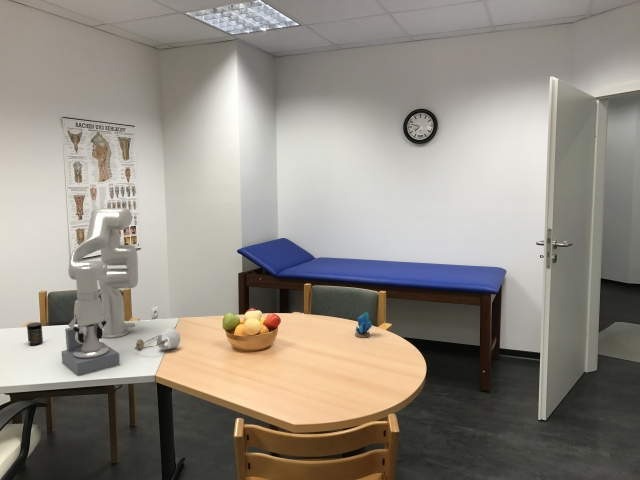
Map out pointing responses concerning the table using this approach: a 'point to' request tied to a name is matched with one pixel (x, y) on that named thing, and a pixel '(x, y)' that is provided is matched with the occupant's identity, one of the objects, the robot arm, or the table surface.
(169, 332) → the light fixture
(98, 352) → the pan
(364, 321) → the gemstone
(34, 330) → the supplement container
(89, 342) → the flask
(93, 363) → the scale
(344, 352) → the table surface
